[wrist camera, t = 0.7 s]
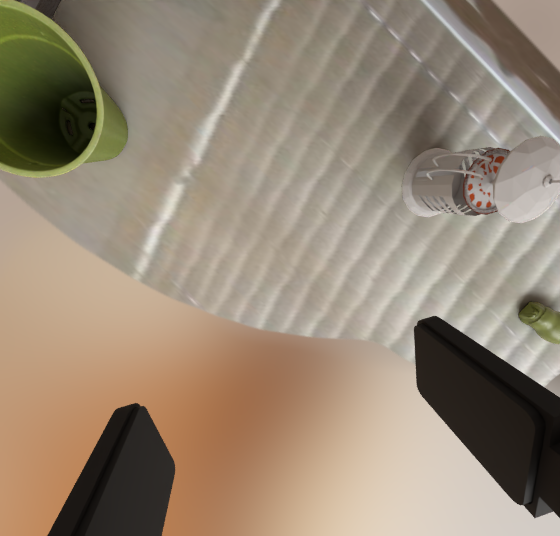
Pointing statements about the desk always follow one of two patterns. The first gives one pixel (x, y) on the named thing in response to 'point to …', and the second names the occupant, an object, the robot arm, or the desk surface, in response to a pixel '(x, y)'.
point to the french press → (485, 181)
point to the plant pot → (50, 99)
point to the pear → (542, 321)
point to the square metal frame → (43, 6)
